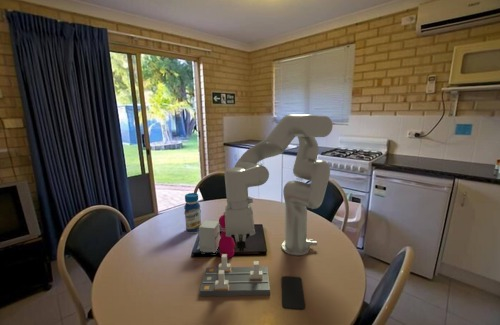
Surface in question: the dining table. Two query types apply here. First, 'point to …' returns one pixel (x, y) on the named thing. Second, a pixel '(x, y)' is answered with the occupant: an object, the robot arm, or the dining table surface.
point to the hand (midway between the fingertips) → (241, 249)
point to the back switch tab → (224, 263)
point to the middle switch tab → (256, 272)
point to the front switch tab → (221, 281)
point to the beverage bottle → (192, 213)
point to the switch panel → (235, 282)
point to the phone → (292, 293)
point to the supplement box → (209, 236)
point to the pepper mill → (225, 240)
